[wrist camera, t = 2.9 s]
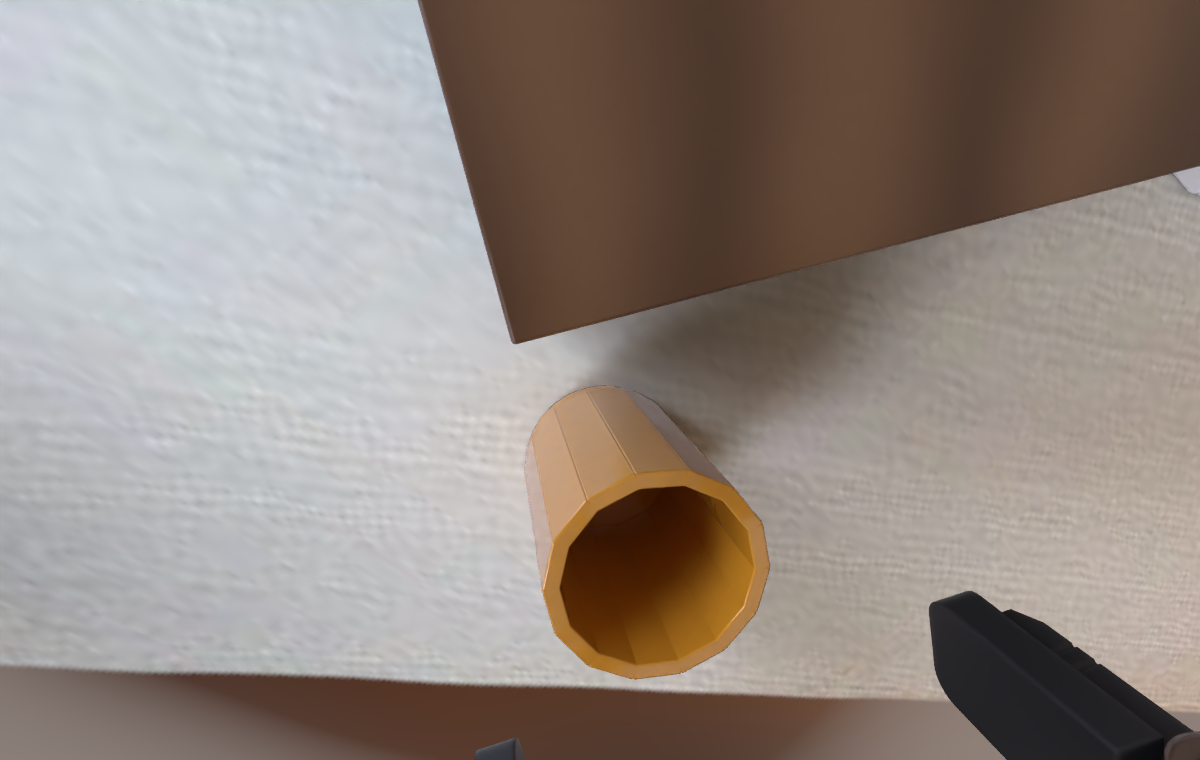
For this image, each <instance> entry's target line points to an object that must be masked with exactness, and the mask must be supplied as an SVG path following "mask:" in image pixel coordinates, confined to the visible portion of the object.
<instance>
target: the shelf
mask: <svg viewBox="0 0 1200 760" xmlns="http://www.w3.org/2000/svg"><path fill="white" fill-rule="evenodd" d="M418 3H419V7H420V11H421V14H422V18H423V22H424V25H425V29H426V32H427V36H428V40H429V43H430V47H431V51H432V54H433V58H434V62H435V65H436V69H437V73H438V76H439V80H440V83H441V87H442V91H443V94H444V98H445V102H446V105H447V109H448V113H449V116H450V120H451V124H452V127H453V131H454V134H455V138H456V142H457V145H458V149H459V153H460V156H461V160H462V164H463V167H464V171H465V175H466V178H467V182H468V185H469V189H470V193H471V196H472V200H473V204H474V207H475V211H476V215H477V218H478V222H479V226H480V229H481V233H482V236H483V240H484V244H485V247H486V251H487V255H488V258H489V262H490V266H491V269H492V273H493V277H494V280H495V284H496V287H497V291H498V295H499V298H500V302H501V306H502V309H503V313H504V317H505V320H506V324H507V328H508V331H509V335H510V338H511V341H512V343H513V344H519V343H523V342H527V341H530V340H534V339H538V338H542V337H546V336H550V335H554V334H557V333H561V332H565V331H569V330H573V329H577V328H580V327H584V326H588V325H592V324H596V323H600V322H603V321H607V320H611V319H615V318H619V317H623V316H627V315H630V314H634V313H638V312H642V311H646V310H650V309H653V308H657V307H661V306H665V305H669V304H673V303H676V302H680V301H684V300H688V299H692V298H696V297H700V296H703V295H707V294H711V293H715V292H719V291H723V290H726V289H730V288H734V287H738V286H742V285H746V284H749V283H753V282H757V281H761V280H765V279H769V278H773V277H776V276H780V275H784V274H788V273H792V272H796V271H799V270H803V269H807V268H811V267H815V266H819V265H822V264H826V263H830V262H834V261H838V260H842V259H846V258H849V257H853V256H857V255H861V254H865V253H869V252H872V251H876V250H880V249H884V248H888V247H892V246H895V245H899V244H903V243H907V242H911V241H915V240H919V239H922V238H926V237H930V236H934V235H938V234H942V233H945V232H949V231H953V230H957V229H961V228H965V227H968V226H972V225H976V224H980V223H984V222H988V221H992V220H995V219H999V218H1003V217H1007V216H1011V215H1015V214H1018V213H1022V212H1026V211H1030V210H1034V209H1038V208H1041V207H1045V206H1049V205H1053V204H1057V203H1061V202H1065V201H1068V200H1072V199H1076V198H1080V197H1084V196H1088V195H1091V194H1095V193H1099V192H1103V191H1107V190H1111V189H1114V188H1118V187H1122V186H1126V185H1130V184H1134V183H1138V182H1141V181H1145V180H1149V179H1153V178H1157V177H1161V176H1164V175H1168V174H1172V173H1176V172H1180V171H1184V170H1187V169H1191V168H1195V167H1199V166H1200V0H418Z"/></svg>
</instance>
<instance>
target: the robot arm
mask: <svg viewBox="0 0 1200 760" xmlns="http://www.w3.org/2000/svg"><path fill="white" fill-rule="evenodd" d="M929 617H930V627H931V637H932V647H933V656H934V666H935V671H936V674H937V677H938V680H939V682H940V684H941V686H942V688H943V690H944V692H945V693H946V695H947V696H948V698H949V699H950V700H951V702H952V703H953V704H954V705H955V706H956V707H957V708H958V709H959V710H960V711H961V712H962V713H963V714H964V715H965V717H967V719H968V720H969V721H970V722H971V723H972V724H973V725H974V726H975V727H976V728H977V729H978V730H979V731H980V732H981V733H982V734H983V735H984V736H985V737H986V739H987V740H989V742H990V743H991V744H992V745H993V746H994V747H995V748H996V749H997V750H998V751H999V752H1000V753H1001V754H1002V755H1003V756H1004V757H1005V758H1006V759H1007V760H1200V732H1194V731H1193V730H1191V729H1190V728H1188V727H1187V726H1185V725H1184V724H1182V723H1181V722H1180V721H1178V720H1177V719H1176V718H1174V717H1173V716H1171V715H1170V714H1169V713H1167V712H1166V711H1165V710H1163V709H1162V708H1160V707H1159V706H1158V705H1156V704H1155V703H1154V702H1152V701H1151V700H1149V699H1148V698H1147V697H1145V696H1144V695H1143V694H1141V693H1140V692H1138V691H1137V690H1136V689H1134V688H1133V687H1132V686H1130V685H1129V684H1127V683H1126V682H1125V681H1123V680H1122V679H1121V678H1119V677H1118V676H1116V675H1115V674H1114V673H1112V672H1111V671H1110V670H1108V669H1107V668H1105V667H1104V666H1103V665H1101V664H1097V663H1096V662H1095V660H1094V659H1093V658H1092V657H1090V656H1089V655H1088V654H1086V653H1085V652H1083V651H1082V650H1081V649H1079V648H1078V647H1073V645H1072V643H1071V642H1070V641H1068V640H1067V639H1066V638H1064V637H1063V636H1061V635H1060V634H1059V633H1057V632H1056V631H1055V630H1053V629H1052V628H1050V627H1049V626H1048V625H1046V624H1045V623H1043V622H1041V621H1038V620H1036V619H1033V618H1031V617H1028V616H1026V615H1024V614H1021V613H1019V612H1016V611H1014V610H1011V609H1010V610H1007V611H1004V612H1001V611H999V610H998V609H997V608H996V607H994V606H993V605H992V604H990V603H989V602H988V601H986V600H985V599H984V598H983V597H981V596H980V595H978V594H977V593H975V592H973V591H966V592H963V593H960V594H957V595H954V596H951V597H948V598H945V599H941V600H938V601H935V602H933V603H931V604H930V607H929ZM475 760H526V759H525V755H524V752H523V749H522V746H521V744H520V741H519V739H518V738H517V737H516V738H513V739H510V740H507V741H504V742H501V743H498V744H495V745H492V746H489V747H486V748H483V749H480V750H477V751H476V753H475Z"/></svg>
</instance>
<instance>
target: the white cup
mask: <svg viewBox="0 0 1200 760" xmlns="http://www.w3.org/2000/svg"><path fill="white" fill-rule="evenodd" d="M1173 174H1174V175H1175V176H1176V177H1177V179H1178V180H1179V181H1180V182H1181V183H1182V184H1183V186H1184V187H1185V188H1186V189H1187V190H1188V191H1189V192H1190V193H1193V194H1197V195H1200V166H1199V167H1195V168H1191V169H1187V170H1184V171H1180V172H1176V173H1173Z"/></svg>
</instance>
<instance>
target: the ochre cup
mask: <svg viewBox="0 0 1200 760" xmlns="http://www.w3.org/2000/svg"><path fill="white" fill-rule="evenodd" d="M525 464H526V465H525V478H526V485H527V492H528V499H529V506H530V512H531V519H532V526H533V533H534V540H535V546H536V553H537V560H538V567H539V574H540V581H541V587H542V593H543V596H544V600H545V603H546V606H547V610H548V613H549V617H550V620H551V623H552V627H553V630H554V633H555V634H556V636H557V637H558V638H559V639H560V640H561V641H562V642H563V643H564V644H565V645H566V646H567V647H569V648H570V649H571V650H572V651H573V652H574V653H575V654H576V655H577V656H578V657H579V658H580V659H581V660H582V661H583V662H584V663H585V664H586V665H589V666H590V667H592V668H596V669H599V670H602V671H606V672H609V673H613V674H616V675H619V676H623V677H626V678H630V679H642V678H650V677H658V676H666V675H673V674H680V673H681V672H682V673H683V672H685V671H687V670H689V669H691V668H693V667H694V666H696V665H698V664H700V663H702V662H704V661H705V660H707V659H709V658H711V657H713V656H715V655H716V654H718V653H720V652H722V651H724V650H725V649H726V648H727V647H728V646H729V645H730V644H731V642H732V641H733V640H734V639H735V638H736V636H737V635H738V634H739V633H740V632H741V630H742V629H743V628H744V627H745V626H746V625H747V623H748V622H749V621H750V620H751V619H752V617H753V616H754V615H755V614H756V611H757V610H758V607H759V603H760V600H761V597H762V593H763V590H764V587H765V584H766V580H767V577H768V574H769V570H770V562H769V556H768V551H767V545H766V539H765V533H764V527H763V524H762V521H761V520H760V519H759V517H758V516H757V515H756V514H755V512H754V511H753V510H752V509H751V507H750V506H749V505H748V504H747V503H746V501H745V500H744V499H743V498H742V496H741V495H740V494H739V493H738V492H737V490H736V489H735V488H734V487H733V486H732V485H731V484H730V483H729V481H728V480H727V479H726V478H725V477H724V476H723V475H722V474H721V473H720V472H719V471H718V470H717V469H716V467H715V466H714V465H713V464H712V463H711V462H710V461H709V460H708V459H707V458H706V457H705V456H704V455H703V454H702V452H701V451H700V450H699V449H698V448H697V447H696V446H695V445H694V444H693V443H692V442H691V441H690V440H689V438H688V437H687V436H686V435H685V434H684V433H683V432H682V431H681V430H680V429H679V428H678V427H677V426H676V425H675V423H674V422H673V421H672V420H671V419H670V418H669V417H668V416H667V415H666V414H665V413H664V412H663V411H662V409H661V408H660V407H659V406H658V405H657V404H656V403H654V402H653V401H651V400H649V399H648V398H646V397H645V396H643V395H641V394H639V393H637V392H635V391H633V390H630V389H627V388H623V387H617V386H594V387H589V388H585V389H582V390H579V391H576V392H574V393H571V394H569V395H567V396H565V397H564V398H562V399H561V400H559V401H558V402H556V403H555V404H554V405H553V406H552V407H551V408H549V409H548V410H547V412H546V413H545V414H544V415H543V416H542V417H541V419H540V420H539V421H538V423H537V424H536V426H535V428H534V430H533V432H532V434H531V437H530V439H529V442H528V446H527V451H526V461H525Z"/></svg>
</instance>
